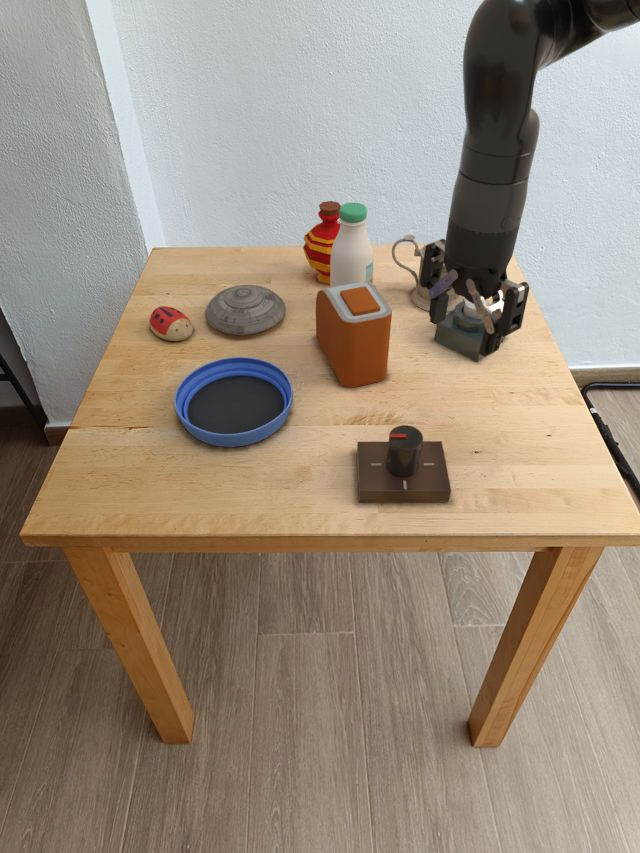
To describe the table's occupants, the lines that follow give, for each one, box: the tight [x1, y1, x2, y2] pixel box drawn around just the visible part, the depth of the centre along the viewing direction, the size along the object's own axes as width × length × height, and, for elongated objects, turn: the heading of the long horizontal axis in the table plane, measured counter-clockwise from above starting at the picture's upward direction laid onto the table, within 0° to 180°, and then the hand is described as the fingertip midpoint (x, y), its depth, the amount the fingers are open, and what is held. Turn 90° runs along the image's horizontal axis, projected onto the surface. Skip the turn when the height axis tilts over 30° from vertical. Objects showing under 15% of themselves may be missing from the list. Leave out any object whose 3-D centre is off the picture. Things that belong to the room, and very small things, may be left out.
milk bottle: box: [329, 202, 374, 288], centre depth 104 cm, size 8×8×20 cm
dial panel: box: [356, 440, 452, 503], centre depth 80 cm, size 12×9×3 cm
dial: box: [386, 424, 424, 477], centre depth 78 cm, size 4×4×6 cm
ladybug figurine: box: [149, 305, 194, 342], centre depth 106 cm, size 7×10×4 cm
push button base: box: [433, 300, 506, 363], centre depth 101 cm, size 9×9×6 cm
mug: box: [391, 234, 464, 313], centre depth 109 cm, size 14×10×12 cm
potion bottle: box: [302, 200, 342, 285], centre depth 114 cm, size 10×10×15 cm
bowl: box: [173, 356, 294, 448], centre depth 90 cm, size 18×18×4 cm
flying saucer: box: [204, 284, 287, 336], centre depth 108 cm, size 15×15×6 cm
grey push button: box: [463, 298, 490, 319], centre depth 99 cm, size 4×4×2 cm
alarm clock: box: [315, 281, 393, 388], centre depth 95 cm, size 15×8×14 cm, turn 18°
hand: (461, 336), depth 74 cm, fingers open, 8 cm apart
